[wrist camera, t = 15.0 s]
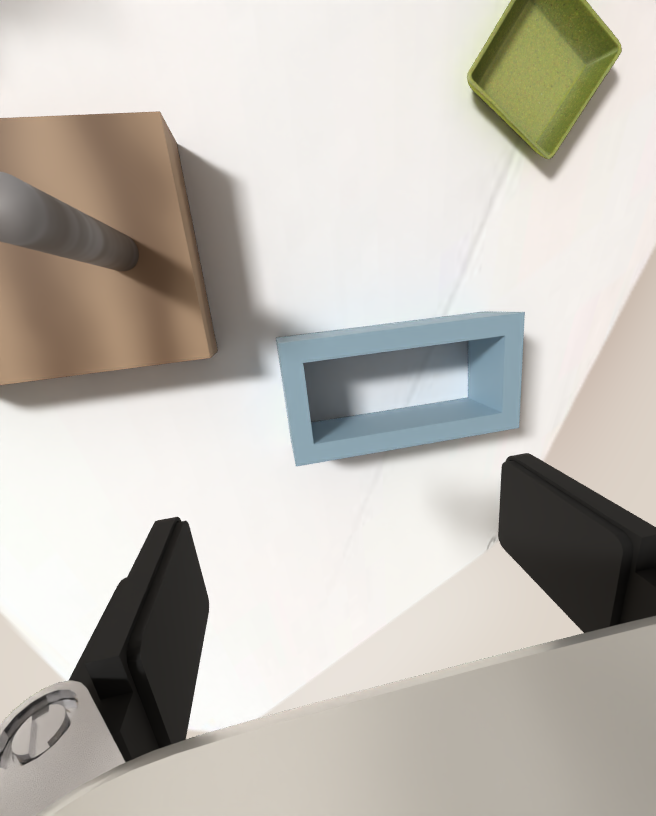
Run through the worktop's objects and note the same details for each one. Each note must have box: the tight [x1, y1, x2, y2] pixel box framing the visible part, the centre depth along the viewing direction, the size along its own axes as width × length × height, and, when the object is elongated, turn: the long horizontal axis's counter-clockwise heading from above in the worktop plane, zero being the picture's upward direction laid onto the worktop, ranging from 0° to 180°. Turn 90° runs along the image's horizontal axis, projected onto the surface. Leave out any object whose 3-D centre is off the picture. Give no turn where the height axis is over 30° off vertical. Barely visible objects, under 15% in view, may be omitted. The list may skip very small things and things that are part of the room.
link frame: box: [276, 312, 525, 466], centre depth 28 cm, size 18×9×5 cm, turn 96°
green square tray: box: [467, 0, 622, 159], centre depth 26 cm, size 9×9×2 cm
